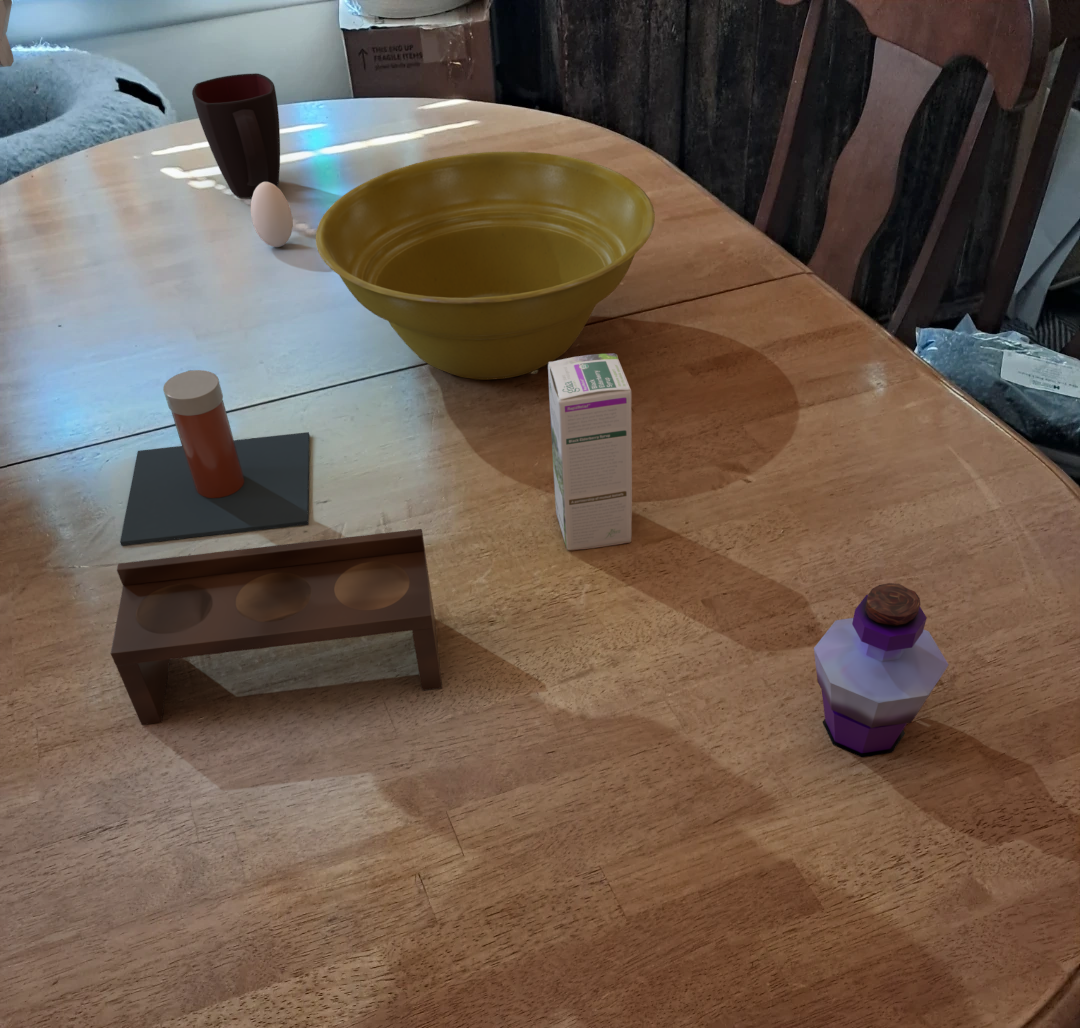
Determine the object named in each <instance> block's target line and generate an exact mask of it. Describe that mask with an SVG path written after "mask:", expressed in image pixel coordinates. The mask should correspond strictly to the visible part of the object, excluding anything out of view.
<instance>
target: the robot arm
mask: <svg viewBox="0 0 1080 1028" xmlns="http://www.w3.org/2000/svg"><path fill="white" fill-rule="evenodd" d="M12 6H13V0H0V68H9V67H12V65H13V63H14V62H15V60H14V59H15V58H14V53H13V51H12V48H11V44H10V42H9V39H8V36H7V32H8V27H9V22H10V17H11V12H12V11H11V10H12Z"/></svg>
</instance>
